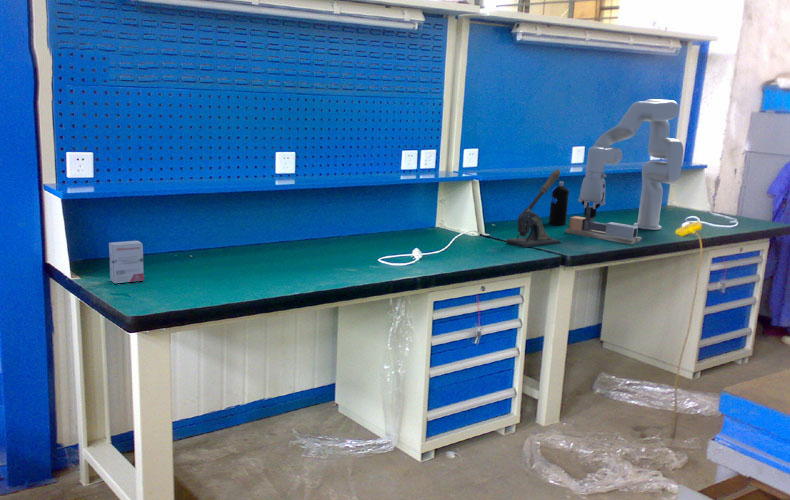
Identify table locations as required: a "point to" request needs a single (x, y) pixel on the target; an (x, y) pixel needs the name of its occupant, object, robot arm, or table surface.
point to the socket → (576, 223)
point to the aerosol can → (559, 205)
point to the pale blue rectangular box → (621, 230)
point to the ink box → (126, 261)
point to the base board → (602, 236)
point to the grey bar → (589, 223)
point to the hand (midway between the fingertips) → (589, 216)
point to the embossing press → (534, 221)
